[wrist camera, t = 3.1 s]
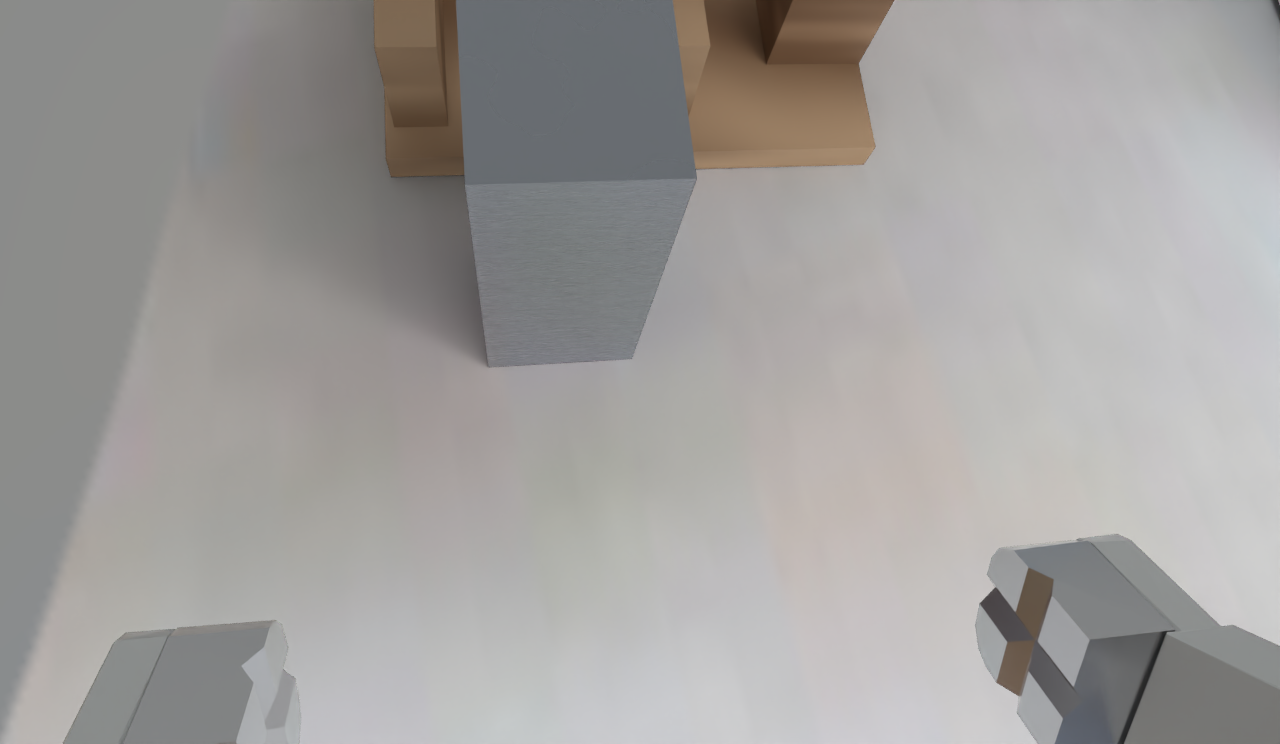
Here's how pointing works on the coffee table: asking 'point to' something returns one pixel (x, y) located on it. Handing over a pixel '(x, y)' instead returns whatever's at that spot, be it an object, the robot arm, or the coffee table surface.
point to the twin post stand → (712, 72)
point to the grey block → (571, 170)
